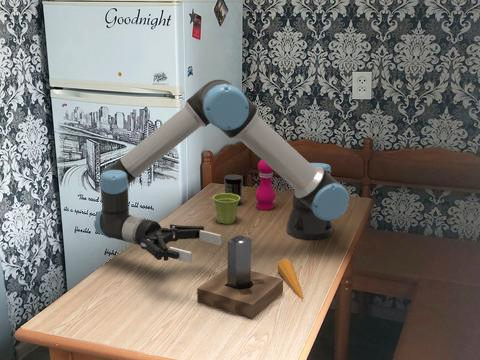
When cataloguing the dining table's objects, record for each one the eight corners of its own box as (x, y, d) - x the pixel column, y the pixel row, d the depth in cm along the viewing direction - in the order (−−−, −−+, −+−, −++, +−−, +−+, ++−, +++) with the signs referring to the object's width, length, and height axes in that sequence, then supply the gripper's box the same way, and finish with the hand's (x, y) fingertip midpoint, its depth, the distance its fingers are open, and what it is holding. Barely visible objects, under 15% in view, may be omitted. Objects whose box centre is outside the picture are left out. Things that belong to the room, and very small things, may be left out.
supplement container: (239, 207, 220) (239, 180, 217) (222, 205, 222) (222, 178, 219) (244, 201, 226) (244, 175, 223) (227, 200, 228) (227, 173, 225)
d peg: (227, 299, 153) (227, 241, 148) (237, 291, 157) (238, 234, 152) (244, 304, 150) (244, 245, 145) (254, 296, 154) (255, 238, 150)
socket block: (197, 302, 151) (197, 288, 150) (230, 278, 164) (231, 265, 163) (252, 319, 143) (252, 304, 142) (282, 293, 156) (283, 279, 155)
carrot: (278, 272, 170) (273, 260, 168) (292, 266, 170) (288, 253, 168) (299, 313, 152) (293, 300, 150) (315, 306, 152) (310, 293, 150)
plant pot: (234, 215, 212) (234, 191, 209) (243, 224, 204) (244, 200, 201) (209, 218, 209) (209, 194, 206) (217, 227, 200) (217, 203, 198)
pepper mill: (273, 211, 216) (274, 158, 210) (253, 210, 217) (254, 156, 211) (276, 205, 223) (277, 153, 217) (257, 203, 224) (258, 152, 218)
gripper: (170, 230, 177) (231, 245, 167) (112, 260, 157) (177, 279, 146) (169, 206, 175) (231, 220, 165) (110, 233, 155) (176, 251, 144)
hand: (206, 248), depth 155 cm, fingers open, 13 cm apart
